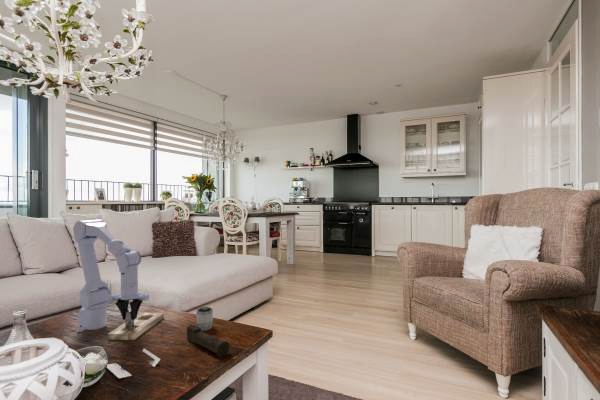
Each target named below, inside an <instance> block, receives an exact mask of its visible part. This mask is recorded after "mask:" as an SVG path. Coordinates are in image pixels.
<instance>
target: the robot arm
mask: <svg viewBox="0 0 600 400" xmlns="http://www.w3.org/2000/svg"><path fill="white" fill-rule="evenodd" d="M107 225H108V224H107V222H105V221H104V219H102V218H99V219H87V220H80V219H79V220H77V221H76V222H75V223H74V225H73V227H72V232H73V236H74V240H75V243H77V248H78V253H79V256H80V262H81V267H82V271H83V276H84V281H85V284H84V286H83V287H82V288H81V289H80V290H79V294H80V295H79V303H80V305H81V308H80V309H79V311H78V314H77V330H76V332H77V333H82V332H83V331H85V330H89V331H90V330H91V331H92V330H94V331H95V330H99V329H102V328H104V327H106V326H107V325H108V324H107V323H108V320H107V319H108V312H107V311H108V310H107V307H108V305H109V302H110V301H116V302H115V306H116V307H117V308H118V310H119V312H120V315H121V319H122V321H125V311H127V310H129V307H130V310H131V317H132V320H134V319H136V318H137V315H138V312H139V310H140V307H141V305H142V303H143V302H144V301H145V302H147V301H149V300H150V294H149V293H140V292H139V287H138V286H139V280H138V279H139V278H138V277H139V275H138V274H139V271H138V269H139V267H138V266H139V265H140V264H141V262H142V255H141V253H140V252H139V251H138V250H134V249H131V248H130V247H129V246H128V245H127V244H126V243H125V242H124V240H122V239H119V238H118V239H116V237H114V235H113V234H112V233H111V232H110V231H109V229H107V227H108V226H107ZM97 240H100V241H102V242H103V243H104V244H105V245H106V246H107V251H108V252H109V253H110V254H112V256H113V257H114V258H115V259H116V264H117V267H118V271H119V273H120V293H113V292H112V291H111V289H110V288H109V284H108V283H107V282H106V281H103V280H102V278H101V275H100V274H101V273H100V268H99V266H98V259H97V255H96V250H95V246H94V243H95V242H96V241H97Z"/></svg>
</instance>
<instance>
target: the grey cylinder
mask: <svg viewBox="0 0 600 400" xmlns="http://www.w3.org/2000/svg"><path fill="white" fill-rule="evenodd" d="M124 323H125V328H132V327H134V320H132V317H131V309H128V310H127V311H125V320H124Z"/></svg>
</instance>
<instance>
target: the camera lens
mask: <svg viewBox="0 0 600 400" xmlns="http://www.w3.org/2000/svg"><path fill="white" fill-rule="evenodd" d="M213 310H214V309H213V308H211V307H207V306H203V307H200V308H197V310H196V312H195V313H196V326H197V327H199V328H201V331H202V332H204V331H209V330H211V329H212V328H213V323H214V322H213V321H214V320H213V319H214V314H213V312H214V311H213Z"/></svg>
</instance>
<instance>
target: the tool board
mask: <svg viewBox="0 0 600 400" xmlns="http://www.w3.org/2000/svg"><path fill="white" fill-rule="evenodd" d="M164 313H165V312H164ZM164 313H163V312H140V313H139V314H137V318H136V319H134V327H132V328H125V322H124V323H122V324H121V325H119V326H118V327H116V328H115V329H113V330H112V331H110V332H108V333H107V340H112V341H113V340H114V341H115V340H117V341H118V340H121V341H122V340H124V341H129V340H131V341H134V340H136V339H137V338H139V337H140V336H141V335H143V334H145V332H147V331H148V330H149V329H151V328H152V327H154V326H155V325H156V324H157V323H158V322H160V321H162V320H163V319H164V318H165V317H164V315H165V314H164Z"/></svg>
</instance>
